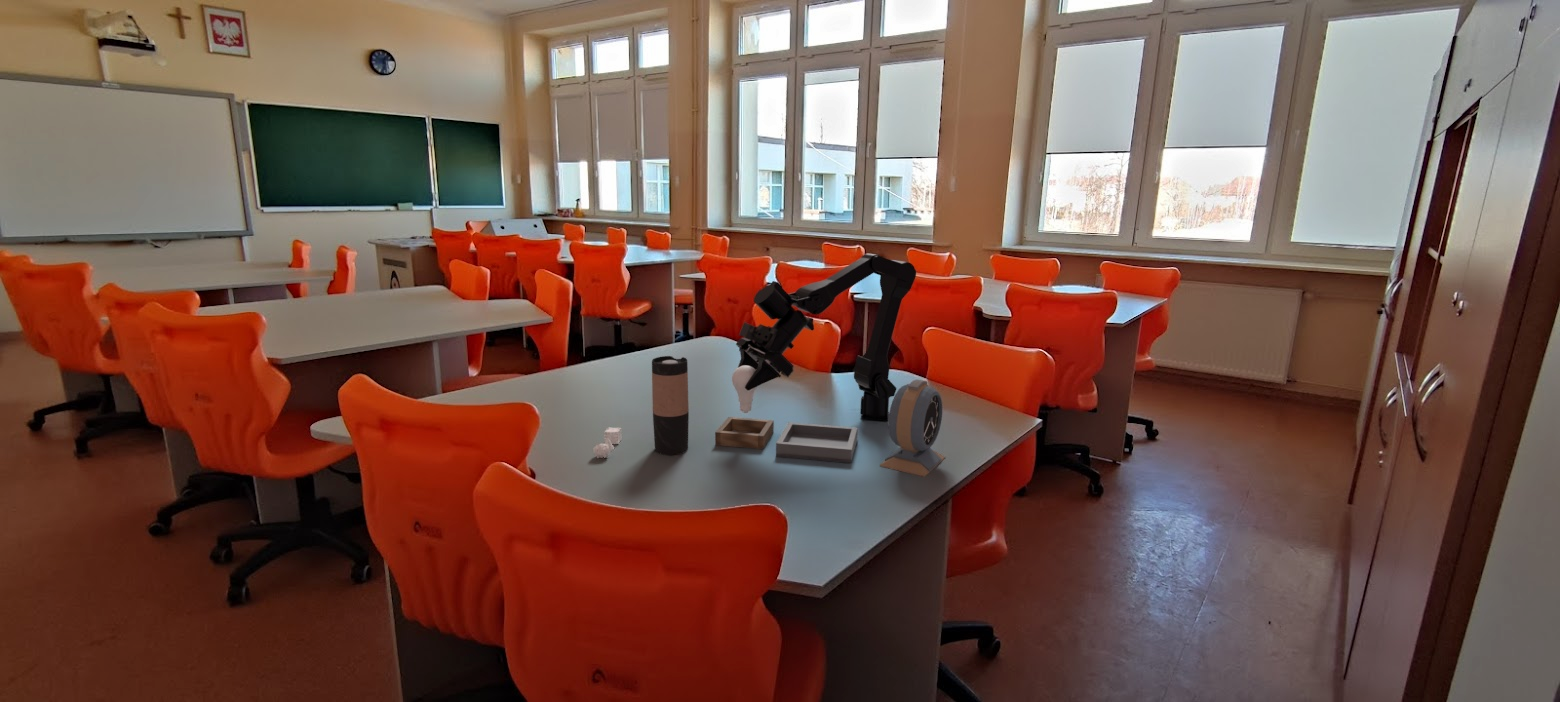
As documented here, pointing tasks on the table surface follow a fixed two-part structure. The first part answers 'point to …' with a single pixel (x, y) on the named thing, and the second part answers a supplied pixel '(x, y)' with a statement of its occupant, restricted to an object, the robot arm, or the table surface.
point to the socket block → (745, 440)
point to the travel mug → (670, 404)
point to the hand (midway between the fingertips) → (740, 385)
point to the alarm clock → (915, 428)
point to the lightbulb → (743, 386)
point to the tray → (817, 442)
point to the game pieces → (608, 442)
